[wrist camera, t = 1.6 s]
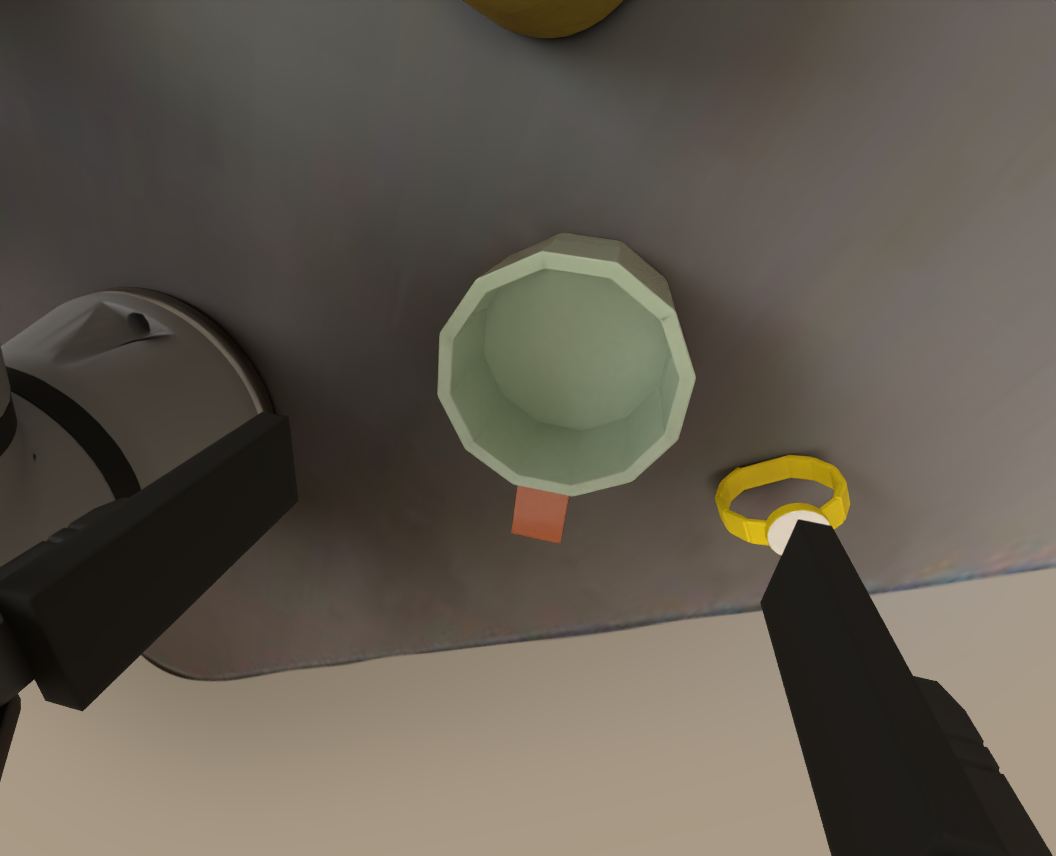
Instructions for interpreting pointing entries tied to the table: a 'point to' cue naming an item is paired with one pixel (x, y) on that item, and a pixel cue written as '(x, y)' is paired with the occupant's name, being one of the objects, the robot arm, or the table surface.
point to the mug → (545, 15)
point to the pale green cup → (565, 373)
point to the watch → (785, 517)
